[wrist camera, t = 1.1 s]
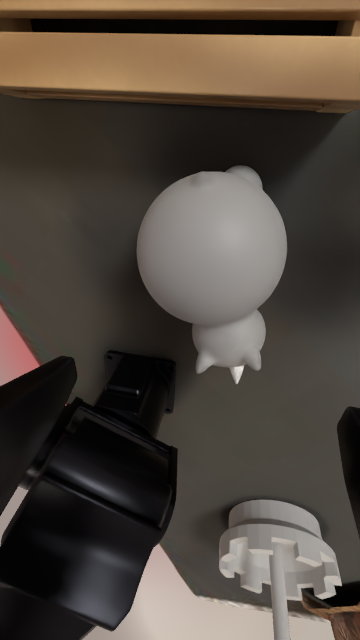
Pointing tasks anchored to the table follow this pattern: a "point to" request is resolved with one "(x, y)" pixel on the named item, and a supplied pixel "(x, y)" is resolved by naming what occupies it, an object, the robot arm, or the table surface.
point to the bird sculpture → (337, 618)
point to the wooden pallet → (184, 55)
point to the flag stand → (278, 555)
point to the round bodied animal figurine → (215, 262)
